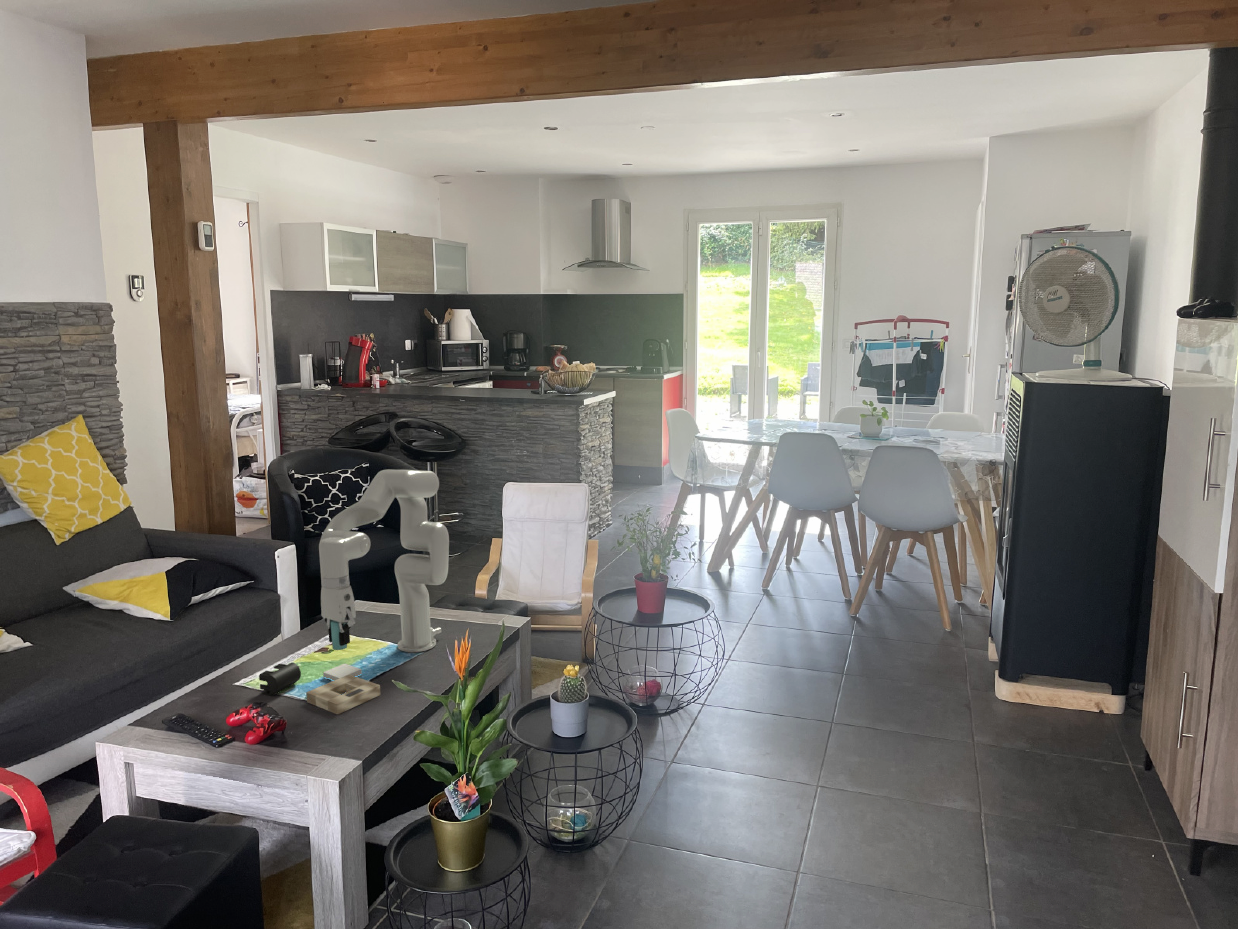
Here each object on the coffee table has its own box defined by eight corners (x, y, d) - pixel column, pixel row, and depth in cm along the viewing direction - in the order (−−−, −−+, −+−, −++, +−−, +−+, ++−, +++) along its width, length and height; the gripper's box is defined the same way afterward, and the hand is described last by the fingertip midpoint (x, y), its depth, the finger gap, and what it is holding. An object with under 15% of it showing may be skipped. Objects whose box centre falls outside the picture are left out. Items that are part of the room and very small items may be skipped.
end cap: (278, 698, 254) (276, 676, 253) (259, 694, 257) (257, 673, 256) (302, 684, 264) (300, 663, 262) (283, 681, 266) (281, 660, 265)
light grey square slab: (345, 669, 274) (344, 663, 274) (361, 675, 269) (361, 669, 269) (323, 678, 268) (323, 672, 267) (340, 684, 263) (339, 678, 263)
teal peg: (341, 644, 253) (339, 617, 252) (350, 646, 251) (348, 620, 250) (329, 648, 250) (327, 621, 249) (338, 651, 248) (336, 624, 246)
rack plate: (349, 683, 264) (349, 674, 263) (380, 695, 256) (379, 685, 255) (306, 702, 251) (306, 692, 251) (337, 714, 243) (336, 704, 243)
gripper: (365, 582, 245) (369, 644, 249) (328, 573, 255) (332, 632, 258) (343, 589, 239) (347, 653, 243) (305, 579, 249) (310, 640, 252)
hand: (339, 642), depth 250 cm, fingers closed on teal peg, 4 cm apart
